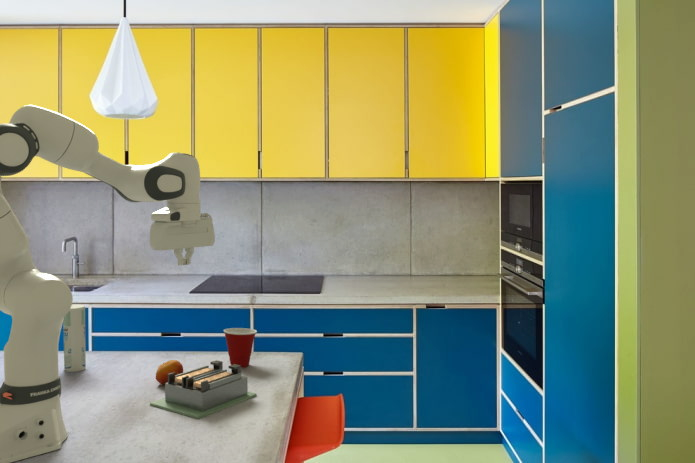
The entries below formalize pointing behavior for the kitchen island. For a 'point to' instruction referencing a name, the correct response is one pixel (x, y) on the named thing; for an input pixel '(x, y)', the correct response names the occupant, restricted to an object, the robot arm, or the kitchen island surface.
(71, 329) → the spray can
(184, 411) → the board
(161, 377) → the fruit
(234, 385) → the grey toaster
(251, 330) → the plastic cup
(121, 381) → the kitchen island surface
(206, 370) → the strap far
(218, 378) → the strap near
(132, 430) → the kitchen island surface
